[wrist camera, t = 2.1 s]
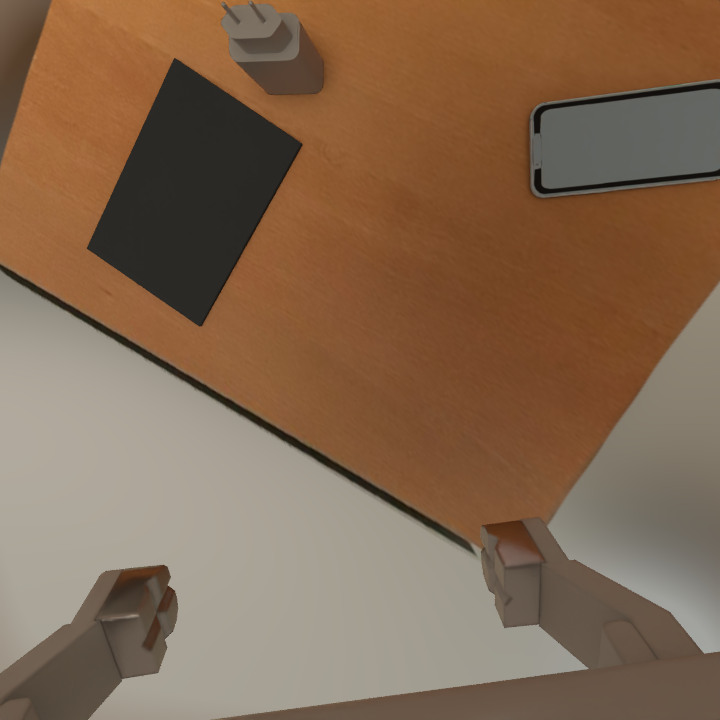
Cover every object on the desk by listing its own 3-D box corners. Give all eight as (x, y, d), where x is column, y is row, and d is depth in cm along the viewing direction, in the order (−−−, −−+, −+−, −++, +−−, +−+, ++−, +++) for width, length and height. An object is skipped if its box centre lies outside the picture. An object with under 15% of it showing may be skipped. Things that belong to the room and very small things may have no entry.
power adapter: (263, 56, 42) (195, -23, 31) (323, 54, 41) (276, -28, 30) (264, 94, 43) (197, 31, 31) (322, 93, 42) (276, 28, 30)
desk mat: (176, 59, 44) (174, 57, 43) (302, 144, 43) (301, 143, 43) (89, 248, 49) (86, 248, 48) (201, 326, 48) (199, 326, 48)
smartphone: (732, 178, 37) (532, 198, 40) (726, 180, 38) (530, 200, 41) (738, 75, 36) (530, 103, 39) (732, 79, 37) (528, 106, 39)
